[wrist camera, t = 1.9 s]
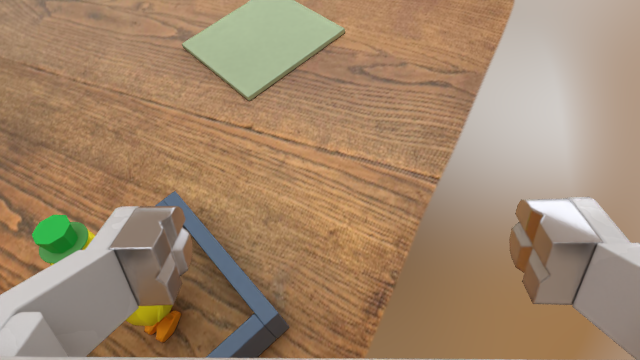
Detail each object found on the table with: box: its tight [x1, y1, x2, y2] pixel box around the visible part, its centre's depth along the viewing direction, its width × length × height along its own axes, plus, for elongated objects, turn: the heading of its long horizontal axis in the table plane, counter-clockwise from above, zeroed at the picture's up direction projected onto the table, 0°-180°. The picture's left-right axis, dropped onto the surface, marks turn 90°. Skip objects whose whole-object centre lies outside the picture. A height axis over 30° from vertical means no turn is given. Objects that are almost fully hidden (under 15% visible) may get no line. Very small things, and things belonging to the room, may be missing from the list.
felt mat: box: [182, 0, 345, 101], centre depth 43 cm, size 12×12×1 cm
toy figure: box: [32, 215, 181, 342], centre depth 23 cm, size 7×4×12 cm, turn 153°
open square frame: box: [155, 191, 289, 358], centre depth 26 cm, size 12×12×3 cm
